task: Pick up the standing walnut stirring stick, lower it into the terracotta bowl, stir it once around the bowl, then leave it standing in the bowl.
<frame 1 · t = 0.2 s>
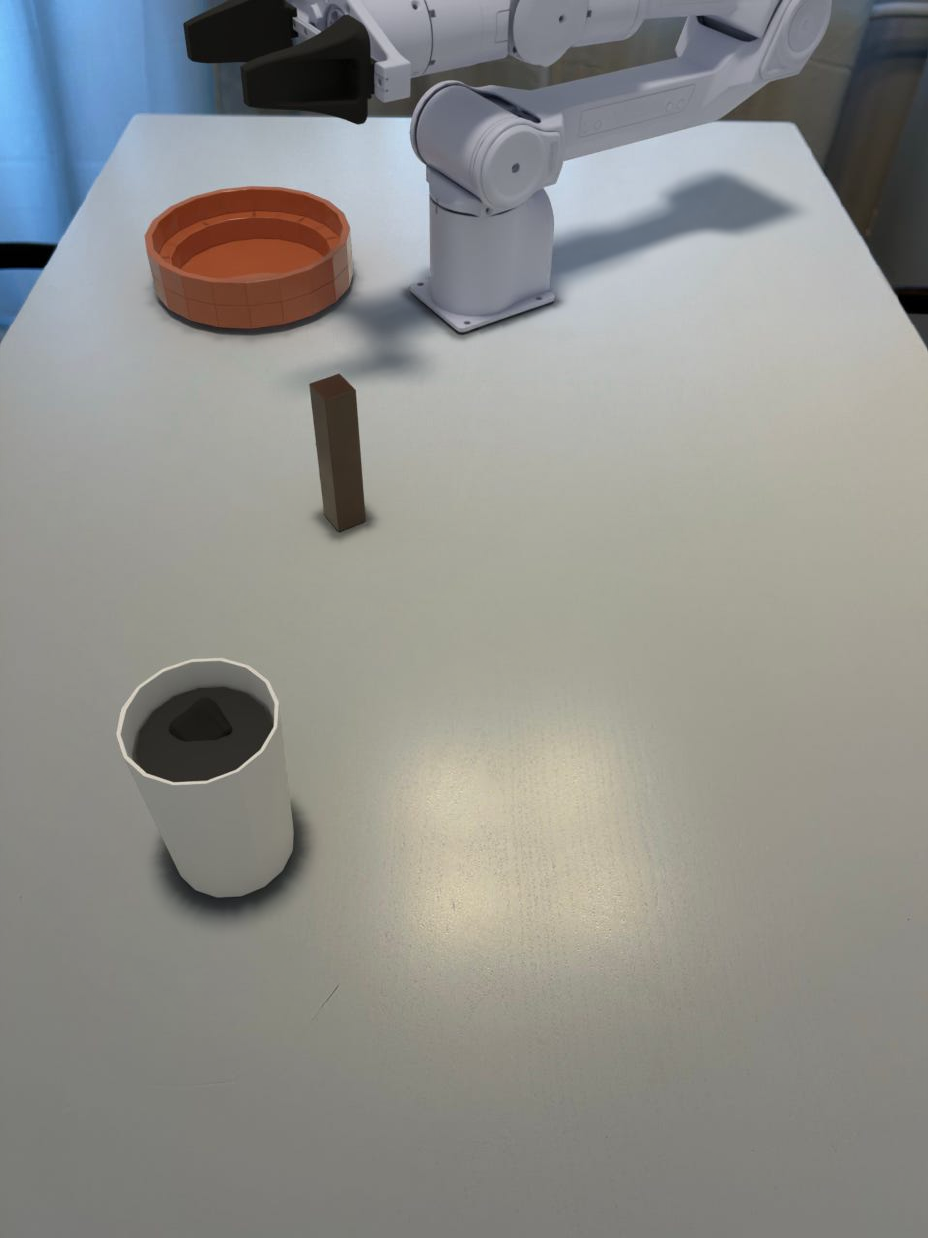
hand: (215, 63, 61), 22 cm above the table, tool horizontal, fingers open, 7 cm apart
white cup: (235, 845, 50), on the table
stick: (344, 517, 66), on the table
bowl: (255, 282, 86), on the table
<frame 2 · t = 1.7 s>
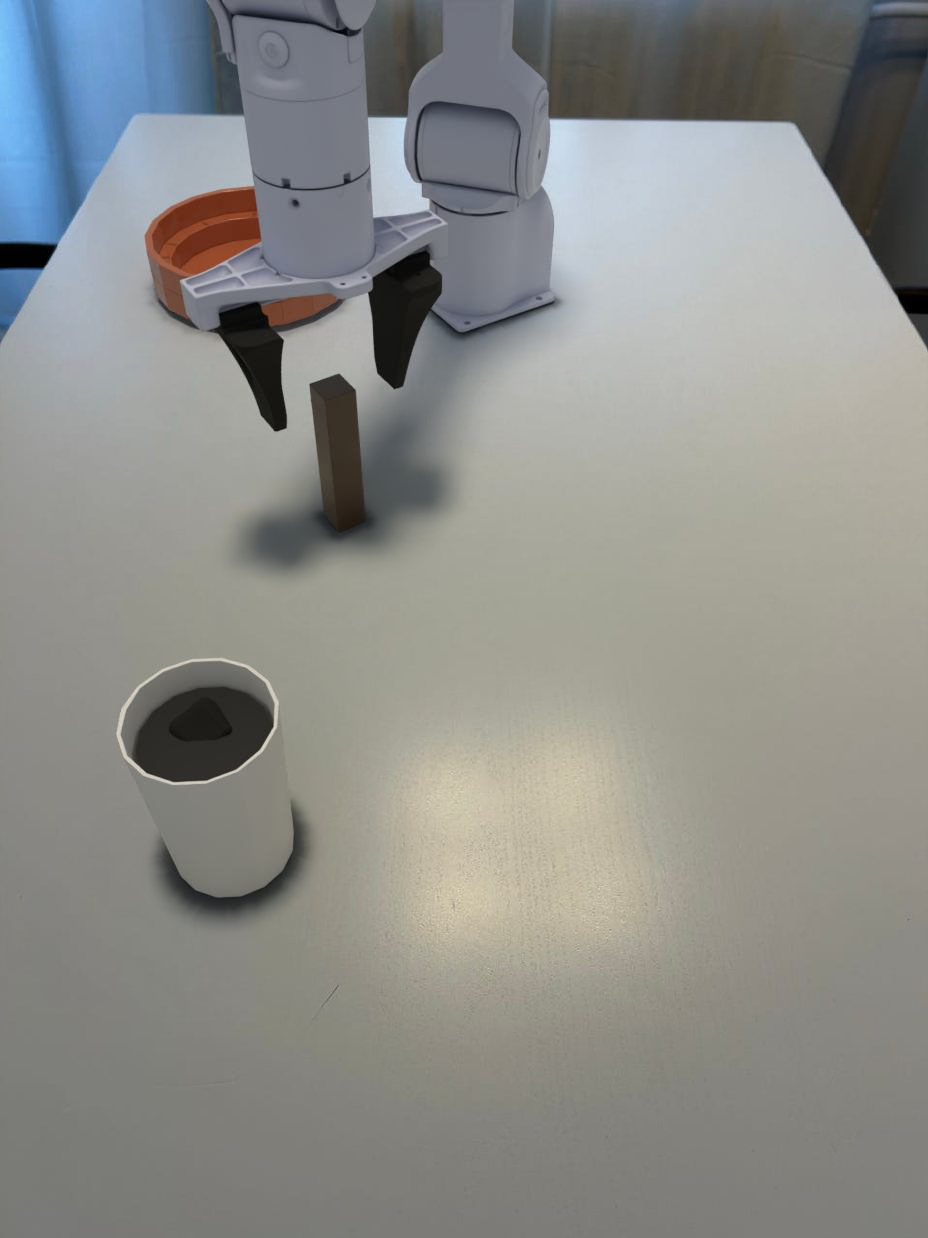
hand: (333, 400, 60), 9 cm above the table, tool pointing down, fingers open, 7 cm apart
nothing on the table moved.
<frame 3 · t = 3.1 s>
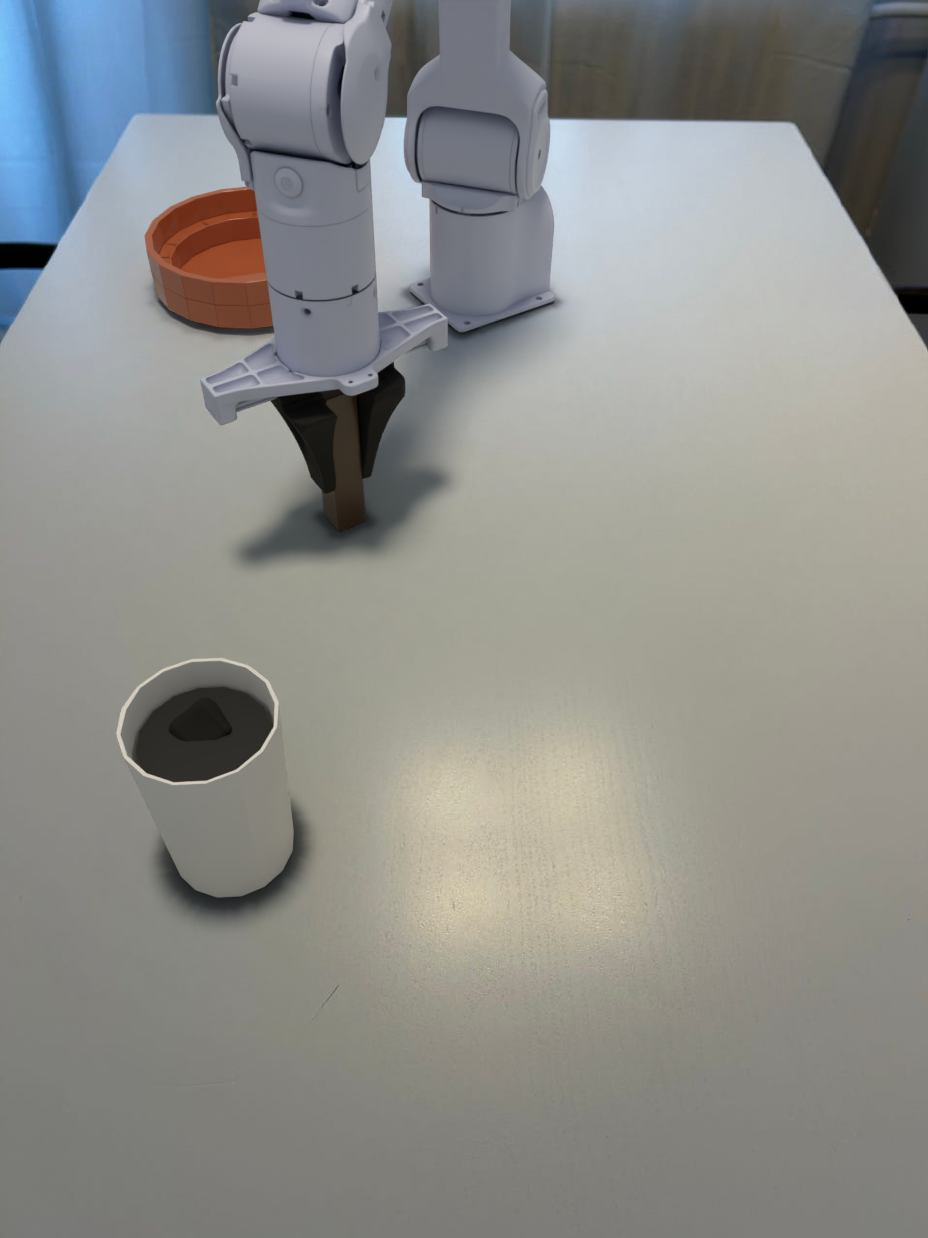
hand: (340, 476, 64), 3 cm above the table, tool pointing down, fingers closed on stick, 2 cm apart
stick: (345, 517, 66), on the table, touching gripper
everything else where it was.
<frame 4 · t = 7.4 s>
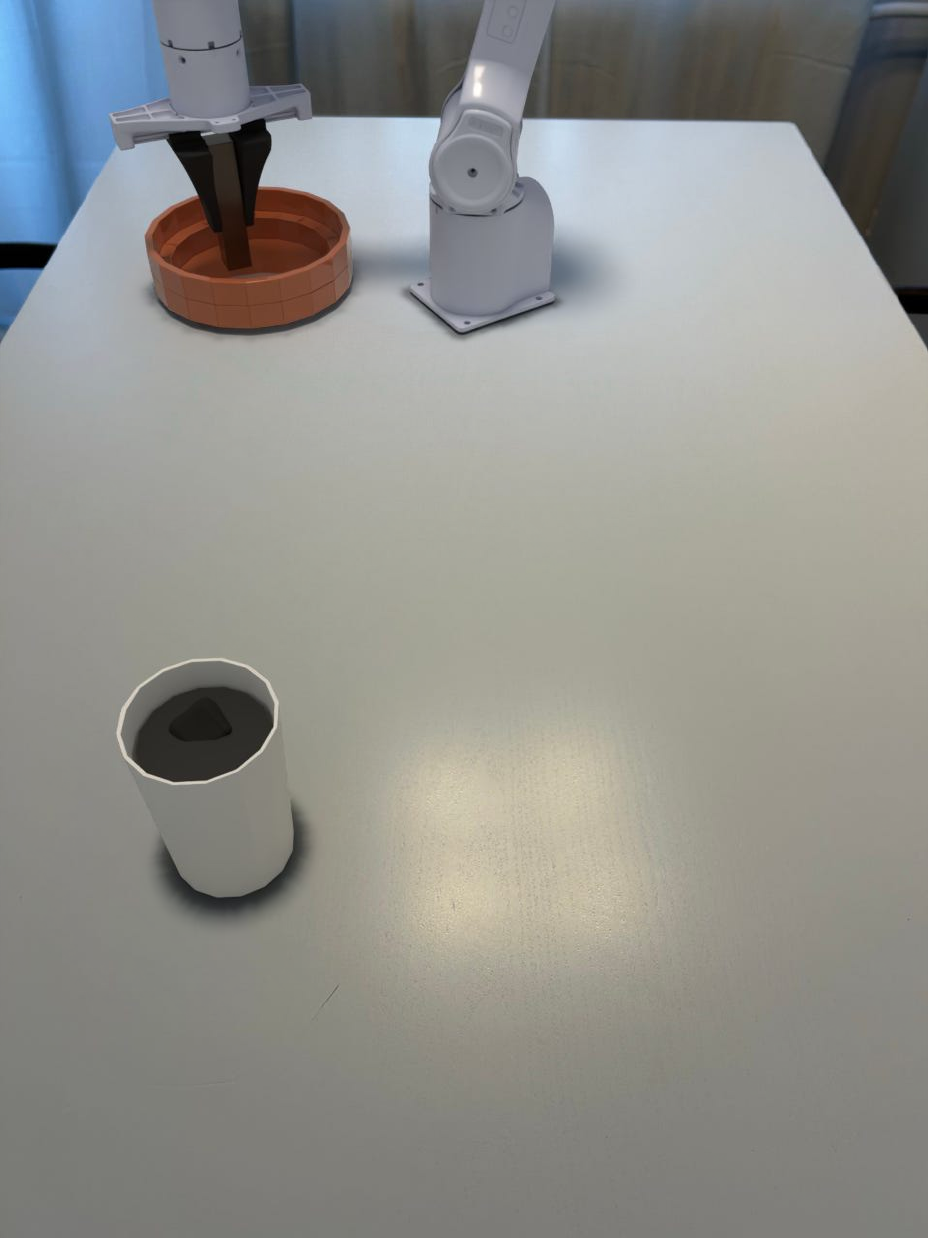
hand: (230, 223, 82), 5 cm above the table, tool pointing down, fingers closed on stick, 2 cm apart
stick: (237, 263, 84), point 2 cm above the table, touching gripper
everything else where it was.
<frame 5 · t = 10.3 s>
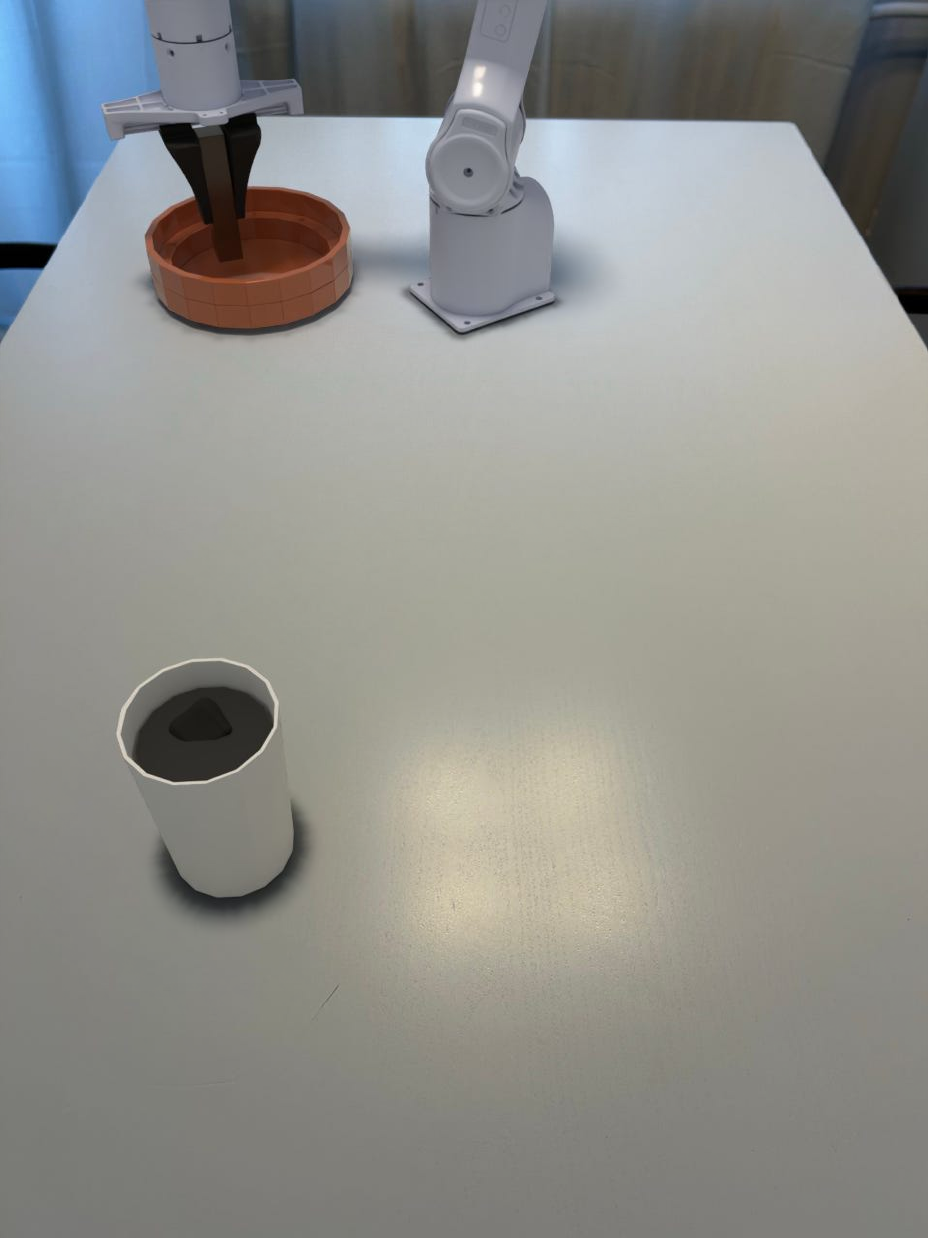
hand: (222, 215, 83), 5 cm above the table, tool pointing down, fingers closed on stick, 2 cm apart
stick: (229, 255, 85), point 2 cm above the table, touching gripper
everything else where it was.
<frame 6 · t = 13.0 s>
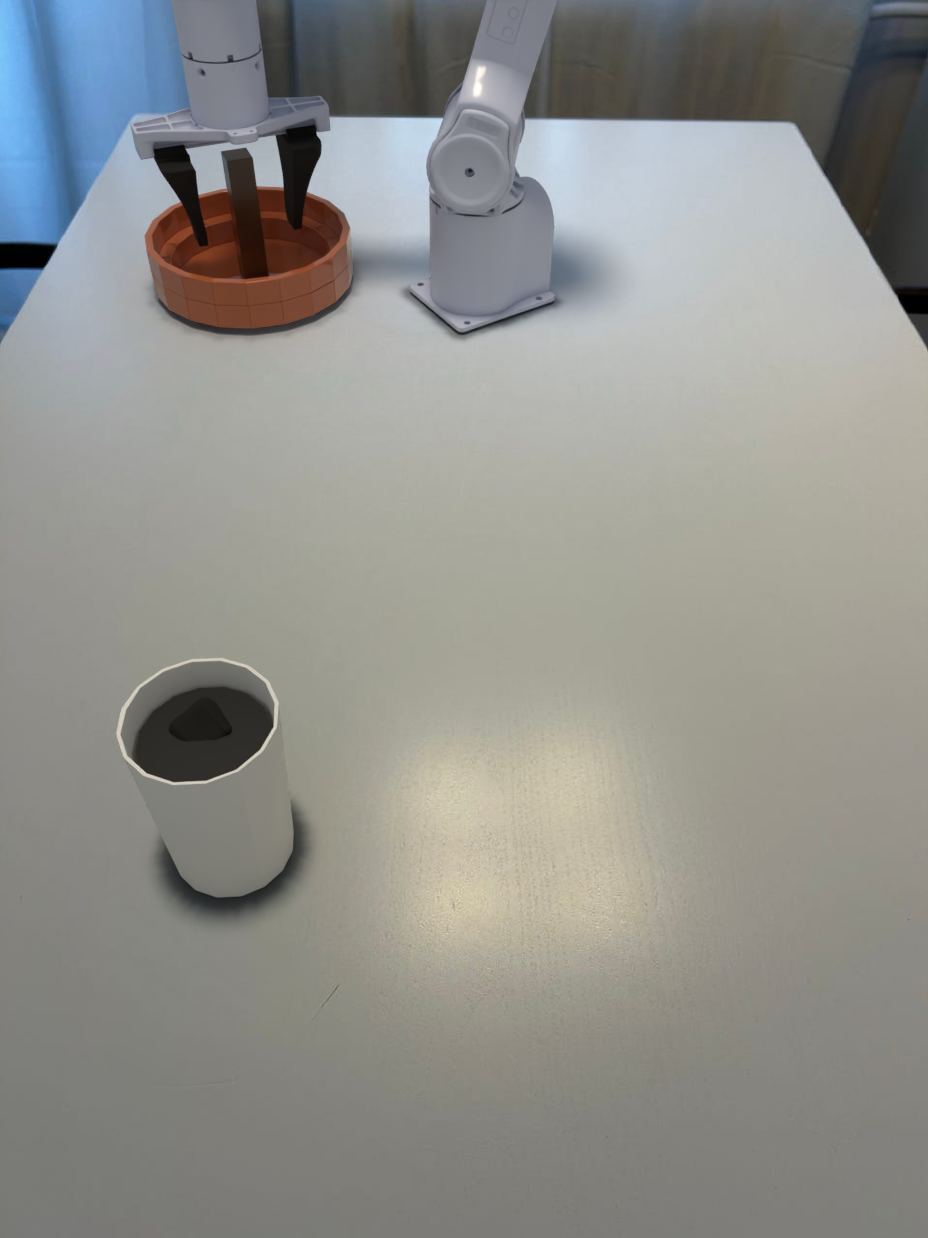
hand: (248, 232, 83), 4 cm above the table, tool pointing down, fingers open, 7 cm apart
stick: (254, 275, 86), point 1 cm above the table, touching bowl
everything else where it was.
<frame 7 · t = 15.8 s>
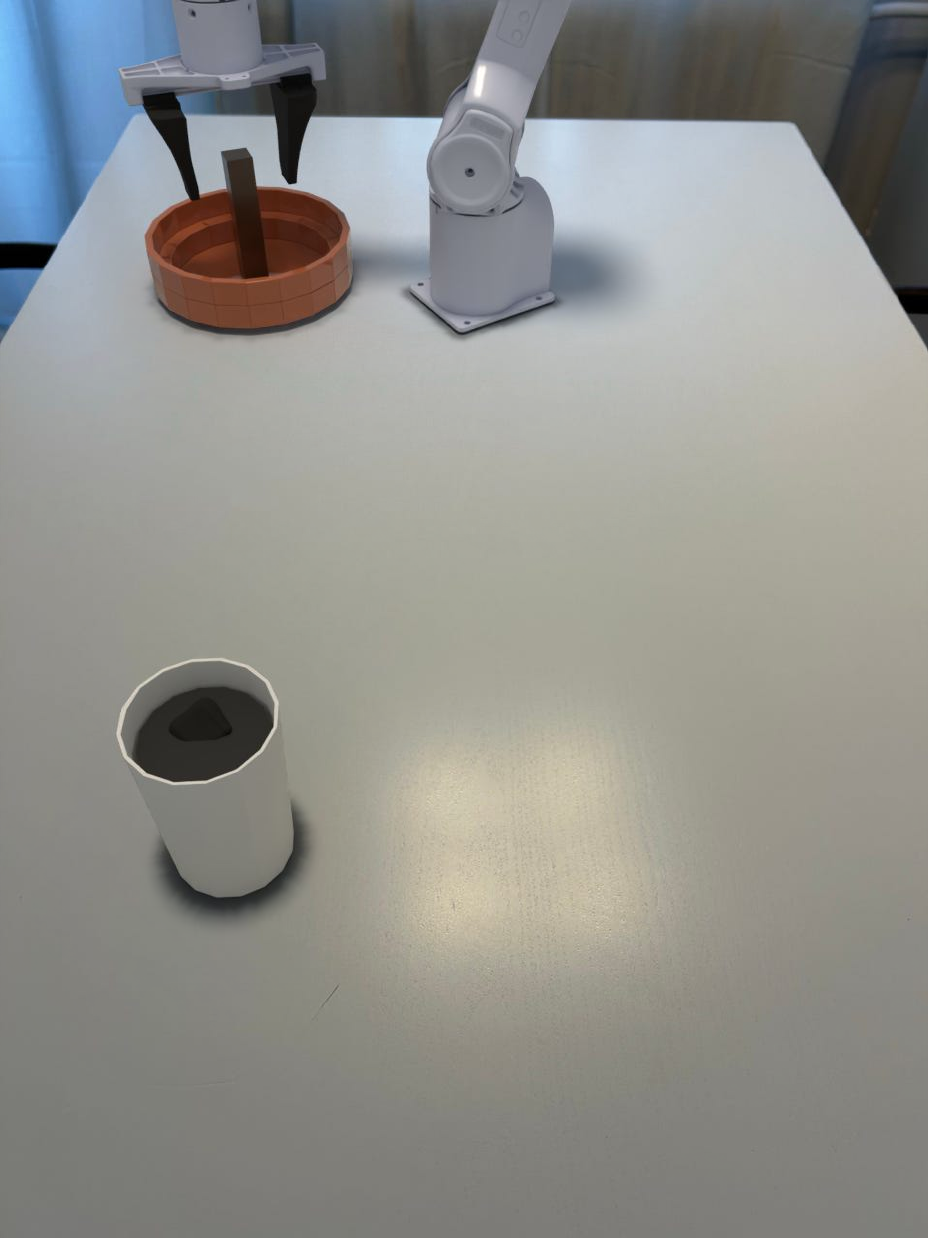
hand: (241, 186, 80), 8 cm above the table, tool pointing down, fingers open, 7 cm apart
nothing on the table moved.
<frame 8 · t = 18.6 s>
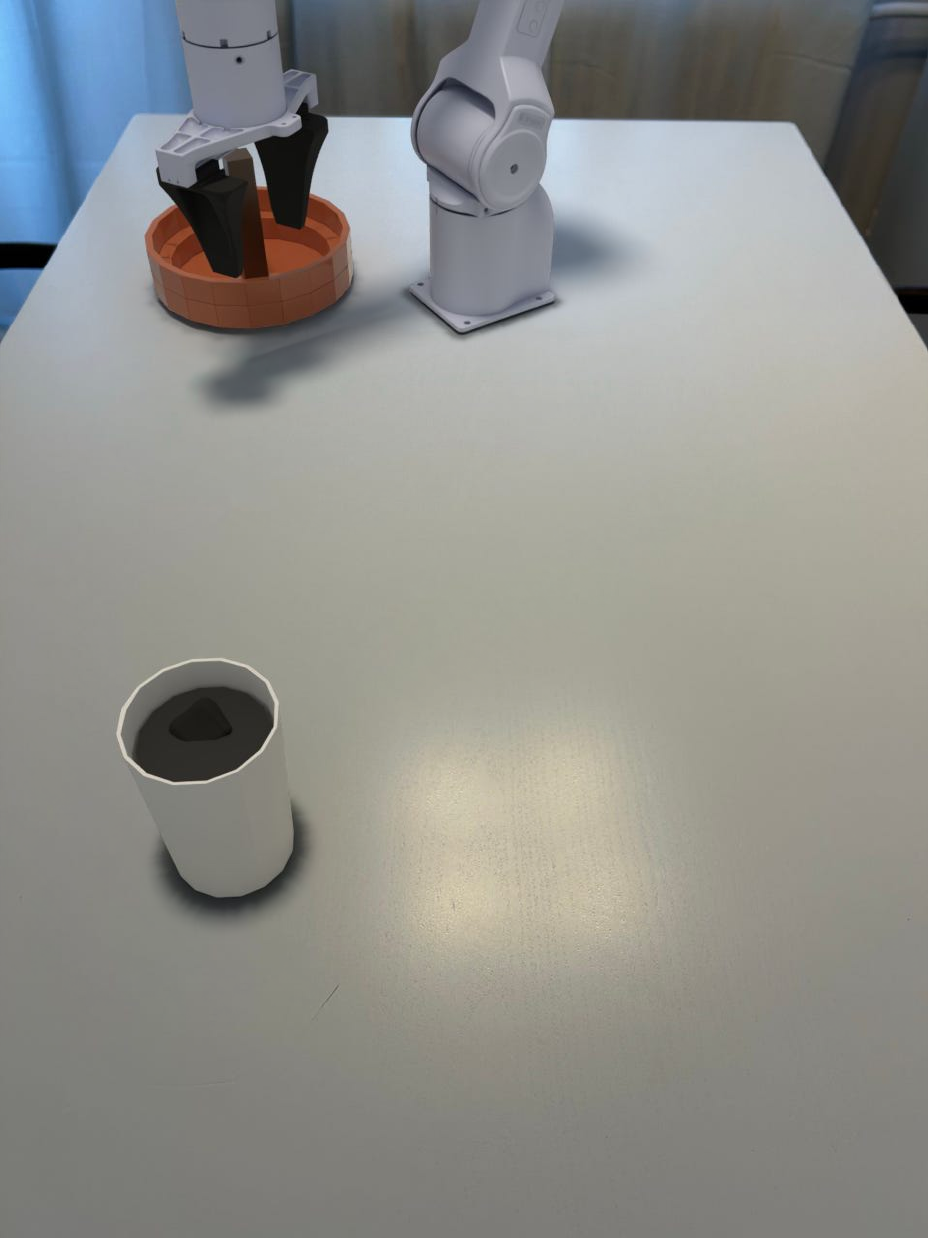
hand: (259, 247, 71), 9 cm above the table, tool pointing down, fingers open, 7 cm apart
nothing on the table moved.
at the end: stick inside the target area in the bowl (0.1 cm from its centre), point 0.6 cm above the bowl's base; stick moved 31.1 cm from its start; the gripper is holding nothing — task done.
